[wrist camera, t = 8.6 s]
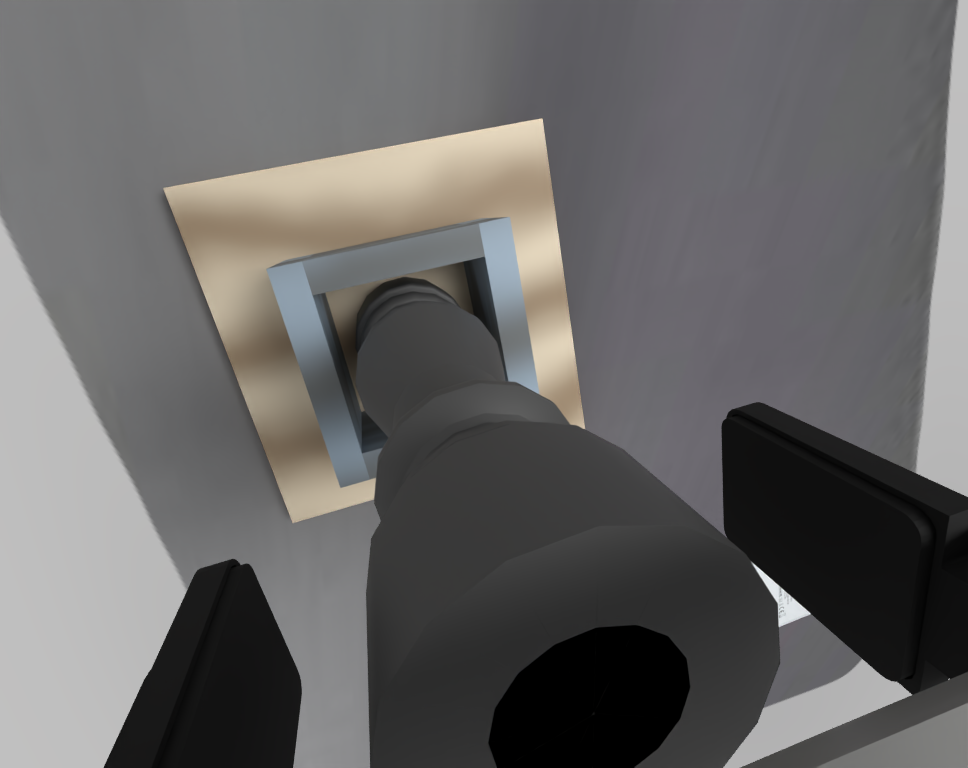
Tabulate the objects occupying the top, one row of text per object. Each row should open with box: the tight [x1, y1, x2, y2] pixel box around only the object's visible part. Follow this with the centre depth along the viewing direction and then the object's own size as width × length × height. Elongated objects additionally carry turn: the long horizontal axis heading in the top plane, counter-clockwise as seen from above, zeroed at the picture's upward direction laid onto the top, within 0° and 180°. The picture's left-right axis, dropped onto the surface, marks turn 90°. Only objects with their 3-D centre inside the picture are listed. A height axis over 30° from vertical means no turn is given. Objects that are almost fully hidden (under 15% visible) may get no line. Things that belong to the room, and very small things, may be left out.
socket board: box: [163, 119, 585, 523], centre depth 27 cm, size 20×20×7 cm
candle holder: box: [355, 277, 780, 768], centre depth 18 cm, size 6×6×25 cm
